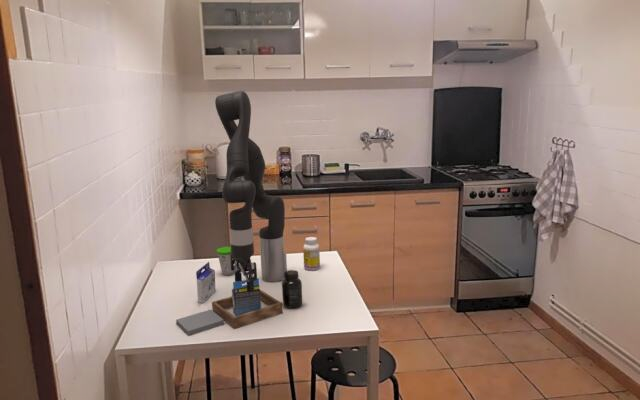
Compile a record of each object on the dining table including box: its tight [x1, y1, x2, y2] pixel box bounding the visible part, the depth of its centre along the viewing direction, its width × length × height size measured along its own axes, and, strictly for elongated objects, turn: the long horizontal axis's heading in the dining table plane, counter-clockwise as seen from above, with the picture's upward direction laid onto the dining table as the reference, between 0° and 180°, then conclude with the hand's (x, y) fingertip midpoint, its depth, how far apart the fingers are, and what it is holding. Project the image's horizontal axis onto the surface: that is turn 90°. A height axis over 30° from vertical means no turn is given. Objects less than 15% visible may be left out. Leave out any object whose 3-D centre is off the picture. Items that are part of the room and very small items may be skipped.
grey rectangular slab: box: [175, 308, 225, 336], centre depth 162 cm, size 12×10×2 cm
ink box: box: [195, 261, 216, 304], centre depth 183 cm, size 12×2×12 cm, turn 168°
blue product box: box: [231, 277, 262, 316], centre depth 169 cm, size 9×4×12 cm, turn 108°
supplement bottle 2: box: [302, 236, 321, 271], centre depth 208 cm, size 7×7×13 cm
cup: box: [215, 246, 235, 277], centre depth 204 cm, size 8×8×15 cm
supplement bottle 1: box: [281, 269, 303, 310], centre depth 173 cm, size 7×7×12 cm
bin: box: [211, 289, 284, 330], centre depth 170 cm, size 18×16×4 cm
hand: (244, 287), depth 168 cm, fingers open, 8 cm apart
